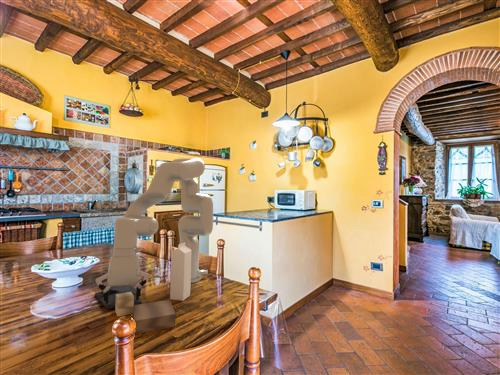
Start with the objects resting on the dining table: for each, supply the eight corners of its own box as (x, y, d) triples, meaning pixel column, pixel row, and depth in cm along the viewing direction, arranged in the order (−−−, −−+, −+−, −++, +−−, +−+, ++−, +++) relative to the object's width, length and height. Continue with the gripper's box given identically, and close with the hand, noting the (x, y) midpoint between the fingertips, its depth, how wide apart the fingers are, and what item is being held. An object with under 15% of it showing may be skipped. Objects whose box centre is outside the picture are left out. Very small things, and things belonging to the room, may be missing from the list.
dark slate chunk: (98, 315, 90) (99, 301, 90) (94, 294, 108) (94, 282, 108) (144, 305, 98) (145, 293, 98) (133, 287, 116) (134, 277, 117)
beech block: (130, 308, 95) (130, 291, 95) (133, 313, 91) (133, 296, 91) (115, 311, 92) (115, 294, 92) (117, 316, 88) (118, 299, 88)
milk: (169, 299, 104) (171, 244, 104) (177, 293, 109) (178, 241, 110) (183, 301, 102) (184, 245, 103) (190, 295, 108) (191, 242, 109)
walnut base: (169, 310, 93) (169, 299, 93) (175, 326, 82) (175, 313, 83) (133, 317, 88) (133, 305, 88) (134, 334, 77) (134, 320, 77)
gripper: (149, 248, 100) (147, 294, 99) (98, 251, 92) (95, 300, 91) (151, 252, 93) (149, 301, 92) (96, 255, 85) (92, 308, 85)
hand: (122, 300), depth 92 cm, fingers open, 9 cm apart
